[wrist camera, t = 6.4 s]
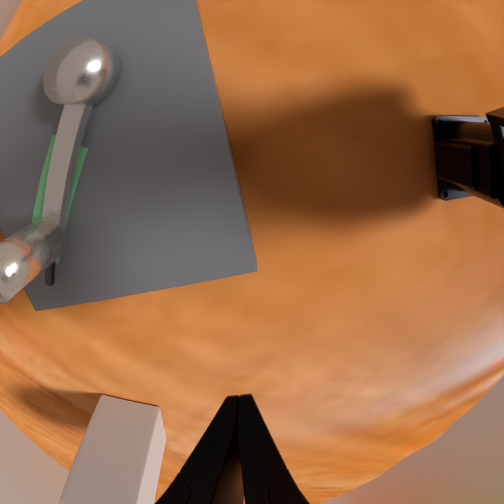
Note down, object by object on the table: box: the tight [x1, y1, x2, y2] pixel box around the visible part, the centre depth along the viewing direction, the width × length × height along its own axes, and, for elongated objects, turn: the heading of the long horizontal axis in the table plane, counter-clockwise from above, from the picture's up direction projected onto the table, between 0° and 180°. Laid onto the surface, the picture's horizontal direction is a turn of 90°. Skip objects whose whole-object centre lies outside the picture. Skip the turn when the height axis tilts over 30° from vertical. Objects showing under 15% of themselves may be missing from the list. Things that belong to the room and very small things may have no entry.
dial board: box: [0, 0, 257, 311], centre depth 16 cm, size 20×22×2 cm
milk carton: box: [59, 395, 166, 504], centre depth 20 cm, size 7×7×19 cm
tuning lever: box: [0, 36, 121, 303], centre depth 12 cm, size 17×4×7 cm, turn 158°
